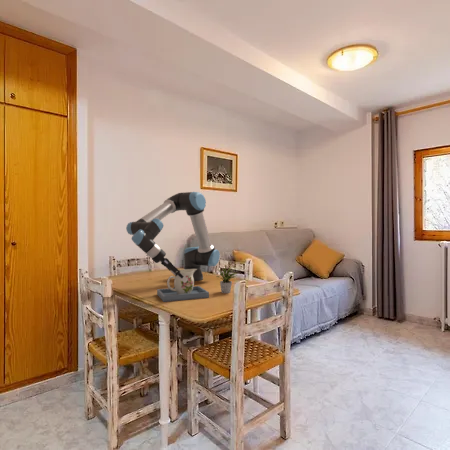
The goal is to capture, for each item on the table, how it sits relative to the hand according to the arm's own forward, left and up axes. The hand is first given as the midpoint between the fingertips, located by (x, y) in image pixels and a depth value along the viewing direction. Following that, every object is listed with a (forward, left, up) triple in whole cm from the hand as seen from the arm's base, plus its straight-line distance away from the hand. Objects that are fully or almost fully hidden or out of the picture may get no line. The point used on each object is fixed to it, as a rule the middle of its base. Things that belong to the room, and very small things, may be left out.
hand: (183, 279), depth 182 cm
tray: (0, 0, -9) cm, 9 cm away
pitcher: (0, 0, -9) cm, 9 cm away
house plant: (-25, +1, -10) cm, 26 cm away
